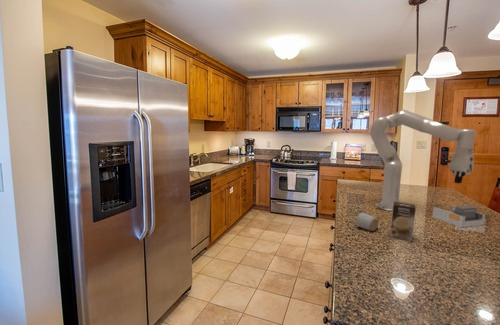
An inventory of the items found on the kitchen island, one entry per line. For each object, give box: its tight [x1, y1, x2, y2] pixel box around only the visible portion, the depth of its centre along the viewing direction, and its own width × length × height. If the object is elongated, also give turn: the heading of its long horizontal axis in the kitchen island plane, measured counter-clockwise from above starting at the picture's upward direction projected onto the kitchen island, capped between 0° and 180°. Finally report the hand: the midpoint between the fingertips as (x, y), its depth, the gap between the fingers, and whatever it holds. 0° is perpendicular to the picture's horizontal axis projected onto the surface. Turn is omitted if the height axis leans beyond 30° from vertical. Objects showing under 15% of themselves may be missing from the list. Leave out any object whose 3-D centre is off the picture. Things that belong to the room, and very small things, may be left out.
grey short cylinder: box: [356, 212, 379, 232], centre depth 133 cm, size 11×8×8 cm
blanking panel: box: [455, 205, 477, 220], centre depth 143 cm, size 10×4×8 cm, turn 106°
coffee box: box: [389, 201, 417, 242], centre depth 123 cm, size 9×6×16 cm
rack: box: [432, 205, 486, 228], centre depth 146 cm, size 16×16×6 cm
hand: (457, 182), depth 148 cm, fingers closed
